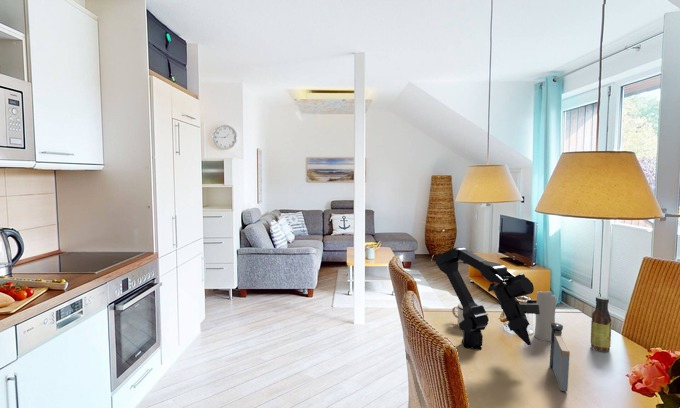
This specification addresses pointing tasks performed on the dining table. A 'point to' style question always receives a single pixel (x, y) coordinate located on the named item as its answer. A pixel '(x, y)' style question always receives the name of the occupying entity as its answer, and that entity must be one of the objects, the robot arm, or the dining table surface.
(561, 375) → the gate
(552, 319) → the notched grey upright panel
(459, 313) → the teacup with lid
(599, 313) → the sauce bottle
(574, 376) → the dining table surface
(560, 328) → the hinge post
